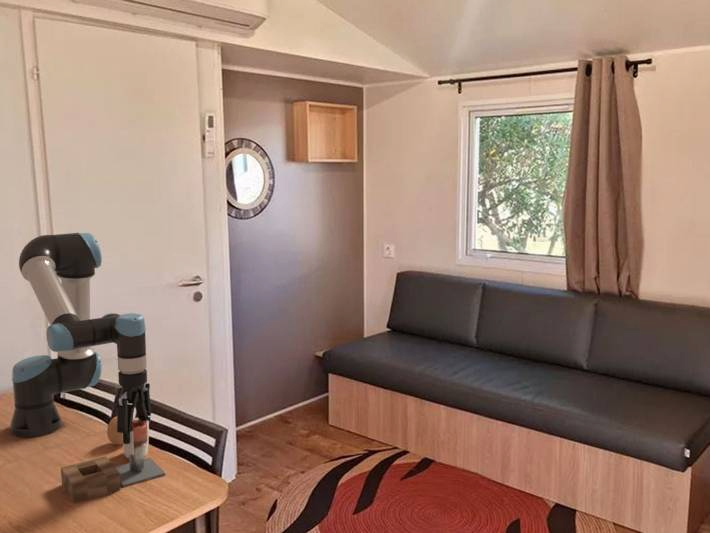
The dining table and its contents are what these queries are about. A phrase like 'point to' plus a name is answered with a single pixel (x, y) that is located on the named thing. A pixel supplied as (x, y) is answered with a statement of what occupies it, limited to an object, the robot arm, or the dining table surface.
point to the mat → (139, 473)
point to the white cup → (143, 444)
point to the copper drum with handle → (138, 445)
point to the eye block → (90, 479)
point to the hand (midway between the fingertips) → (135, 447)
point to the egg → (114, 432)
